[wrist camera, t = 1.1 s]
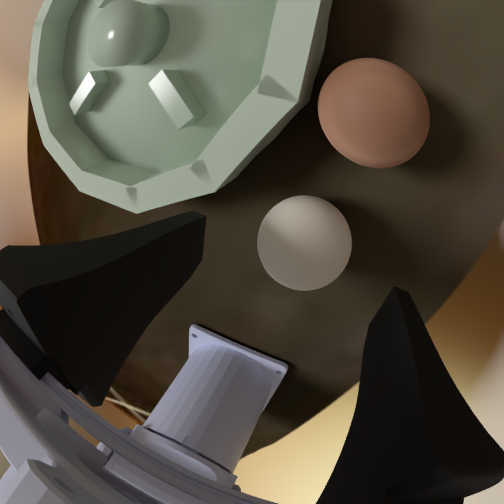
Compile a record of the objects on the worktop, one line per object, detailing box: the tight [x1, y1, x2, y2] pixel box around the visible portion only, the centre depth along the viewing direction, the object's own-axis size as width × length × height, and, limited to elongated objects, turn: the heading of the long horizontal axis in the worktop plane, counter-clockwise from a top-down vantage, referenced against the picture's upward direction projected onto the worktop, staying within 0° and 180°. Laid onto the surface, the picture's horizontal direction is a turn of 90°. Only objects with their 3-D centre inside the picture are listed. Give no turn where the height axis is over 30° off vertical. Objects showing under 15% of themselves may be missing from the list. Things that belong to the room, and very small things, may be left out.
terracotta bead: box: [318, 58, 430, 168], centre depth 8 cm, size 4×4×4 cm
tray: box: [28, 0, 333, 214], centre depth 10 cm, size 18×18×3 cm
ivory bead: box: [257, 195, 352, 291], centre depth 12 cm, size 4×4×4 cm
